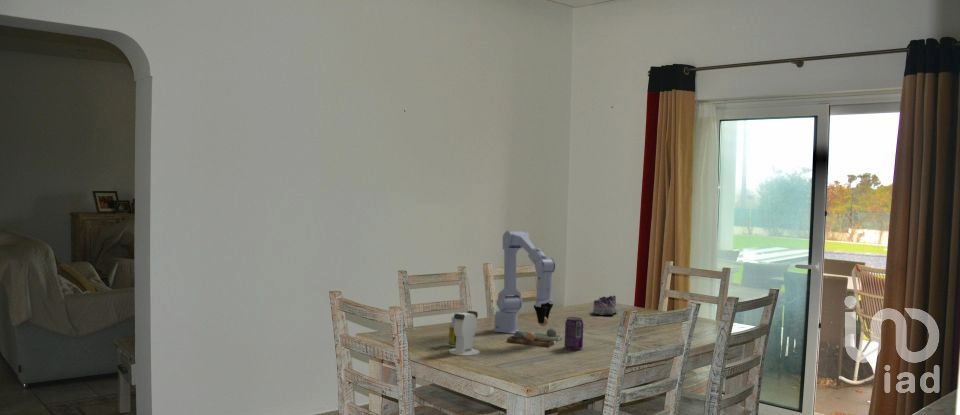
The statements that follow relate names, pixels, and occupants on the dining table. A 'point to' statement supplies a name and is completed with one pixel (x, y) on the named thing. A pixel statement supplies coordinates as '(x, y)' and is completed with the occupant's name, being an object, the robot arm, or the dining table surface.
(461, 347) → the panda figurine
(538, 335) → the sage trough
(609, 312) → the geode
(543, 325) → the terracotta ball
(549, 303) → the robot arm
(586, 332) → the dining table surface
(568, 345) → the beverage can
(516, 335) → the grey ball
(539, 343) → the walnut trough
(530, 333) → the terracotta ball
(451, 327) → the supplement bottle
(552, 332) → the grey ball
